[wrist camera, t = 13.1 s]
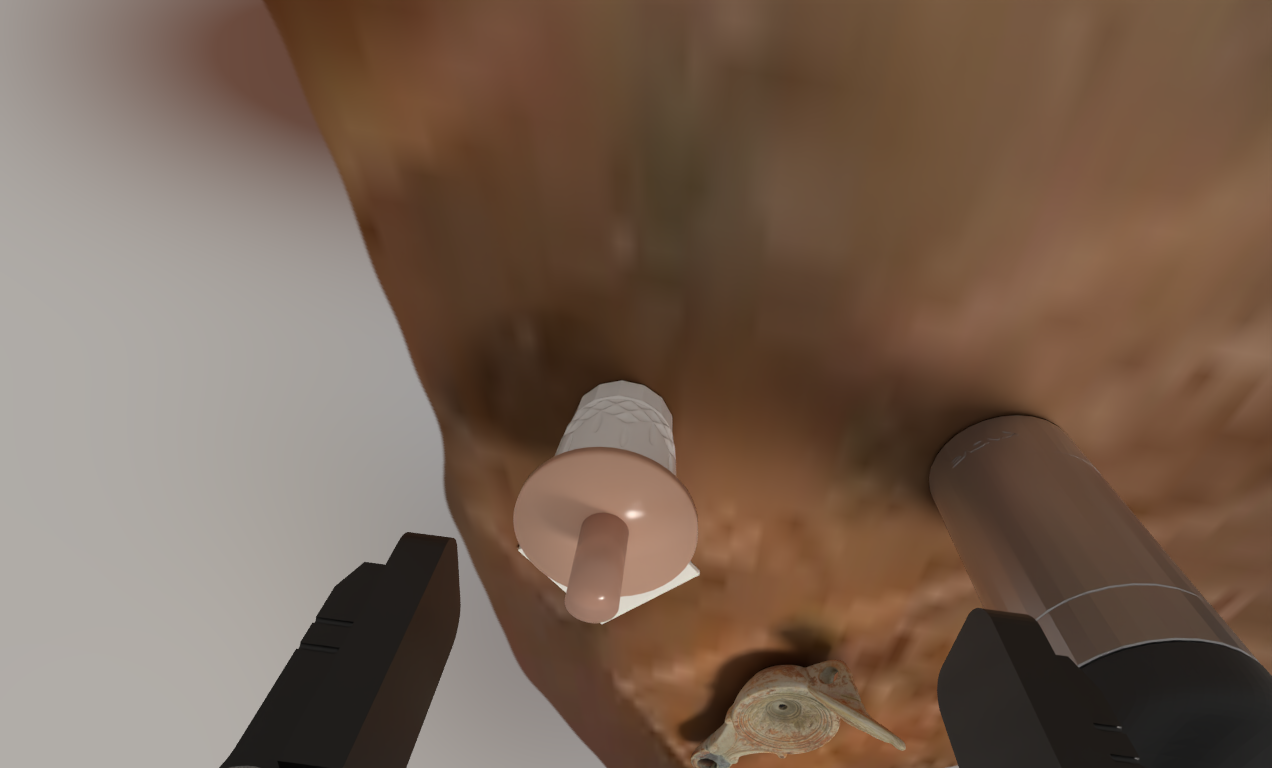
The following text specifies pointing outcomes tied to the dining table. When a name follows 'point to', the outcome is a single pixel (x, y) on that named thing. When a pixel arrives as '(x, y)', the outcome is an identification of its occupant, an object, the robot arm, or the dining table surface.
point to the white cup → (623, 422)
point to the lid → (605, 526)
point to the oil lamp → (789, 714)
